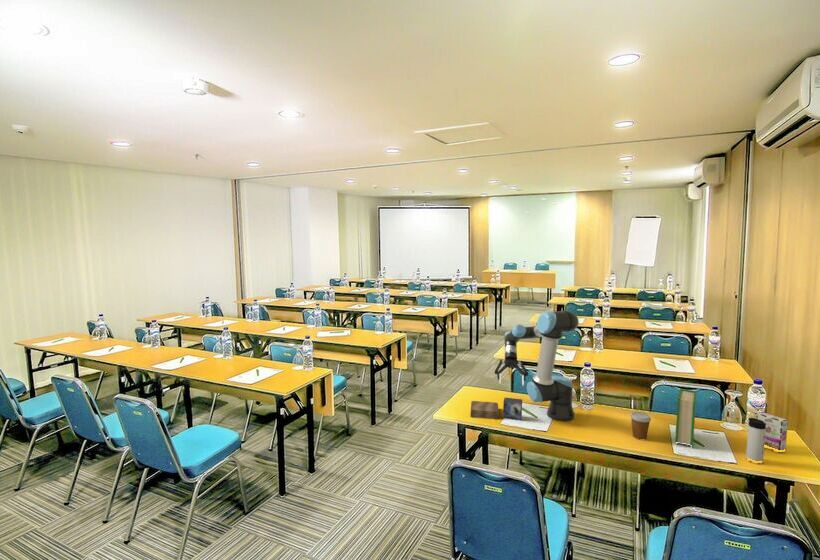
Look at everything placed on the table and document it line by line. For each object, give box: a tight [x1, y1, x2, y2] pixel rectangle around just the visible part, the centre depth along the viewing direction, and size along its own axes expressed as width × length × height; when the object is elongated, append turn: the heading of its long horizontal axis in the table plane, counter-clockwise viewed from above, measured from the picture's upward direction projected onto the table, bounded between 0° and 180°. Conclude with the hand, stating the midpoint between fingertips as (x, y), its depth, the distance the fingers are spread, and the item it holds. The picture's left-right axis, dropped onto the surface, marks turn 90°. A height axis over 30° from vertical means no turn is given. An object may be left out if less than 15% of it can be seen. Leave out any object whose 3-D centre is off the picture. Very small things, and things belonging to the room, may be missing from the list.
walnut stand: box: [470, 400, 500, 420], centre depth 254 cm, size 16×16×4 cm
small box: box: [502, 397, 523, 421], centre depth 247 cm, size 11×6×10 cm, turn 73°
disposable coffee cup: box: [629, 411, 652, 440], centre depth 223 cm, size 10×10×12 cm
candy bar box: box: [756, 411, 789, 450], centre depth 212 cm, size 11×5×16 cm, turn 21°
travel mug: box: [745, 417, 766, 462], centre depth 198 cm, size 6×7×20 cm
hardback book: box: [674, 388, 697, 447], centre depth 220 cm, size 18×7×24 cm, turn 145°
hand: (511, 385), depth 257 cm, fingers open, 13 cm apart
